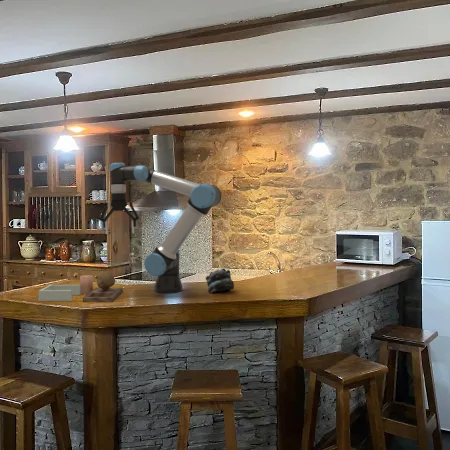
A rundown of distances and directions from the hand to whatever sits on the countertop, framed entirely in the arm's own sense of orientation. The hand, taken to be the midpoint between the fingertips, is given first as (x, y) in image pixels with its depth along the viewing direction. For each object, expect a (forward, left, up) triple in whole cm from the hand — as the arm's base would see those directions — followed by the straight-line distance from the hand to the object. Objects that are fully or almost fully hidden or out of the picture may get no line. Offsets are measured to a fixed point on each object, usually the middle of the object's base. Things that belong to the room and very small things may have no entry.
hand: (120, 233), depth 248 cm
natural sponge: (+7, +3, -29) cm, 30 cm away
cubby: (+27, +12, -31) cm, 43 cm away
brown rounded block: (+18, 0, -31) cm, 36 cm away
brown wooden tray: (+7, +9, -31) cm, 33 cm away
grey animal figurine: (-52, -4, -31) cm, 61 cm away
